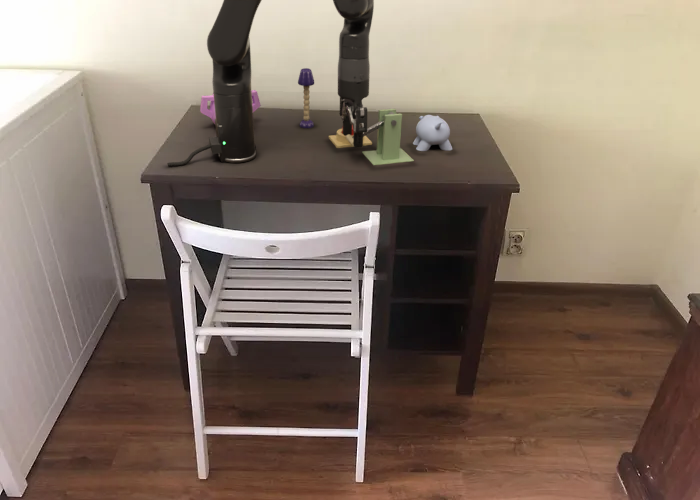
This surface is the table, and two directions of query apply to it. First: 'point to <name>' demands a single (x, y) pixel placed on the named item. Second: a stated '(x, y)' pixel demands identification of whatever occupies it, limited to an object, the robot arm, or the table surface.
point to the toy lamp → (306, 95)
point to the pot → (211, 112)
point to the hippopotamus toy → (432, 133)
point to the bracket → (388, 141)
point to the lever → (369, 129)
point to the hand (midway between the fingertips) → (352, 140)
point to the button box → (345, 140)
